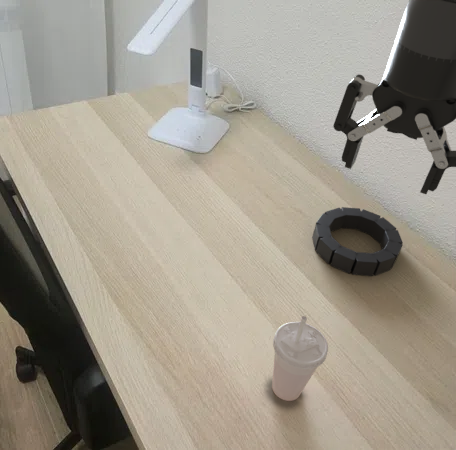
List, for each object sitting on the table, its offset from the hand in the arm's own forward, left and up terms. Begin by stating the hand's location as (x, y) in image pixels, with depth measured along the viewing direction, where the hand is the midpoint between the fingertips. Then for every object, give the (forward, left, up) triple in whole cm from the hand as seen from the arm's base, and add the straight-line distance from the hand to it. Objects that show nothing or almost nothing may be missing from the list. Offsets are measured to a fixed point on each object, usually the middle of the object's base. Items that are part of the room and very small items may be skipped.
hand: (386, 177), depth 63 cm
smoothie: (+1, +14, -26) cm, 30 cm away
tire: (+3, -18, -26) cm, 32 cm away
